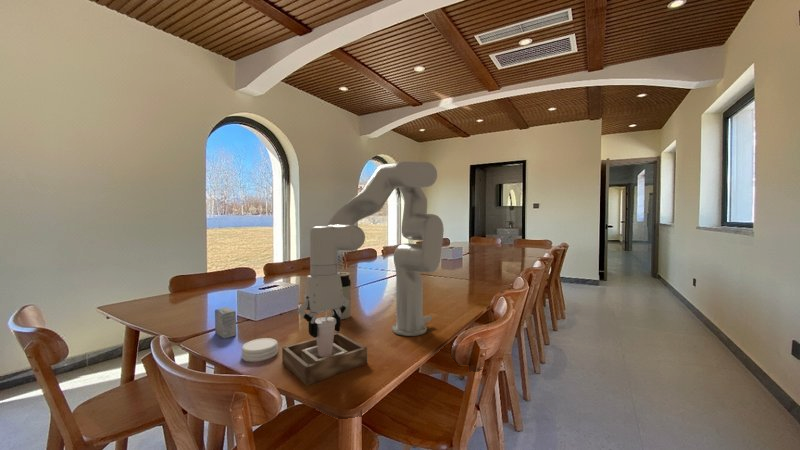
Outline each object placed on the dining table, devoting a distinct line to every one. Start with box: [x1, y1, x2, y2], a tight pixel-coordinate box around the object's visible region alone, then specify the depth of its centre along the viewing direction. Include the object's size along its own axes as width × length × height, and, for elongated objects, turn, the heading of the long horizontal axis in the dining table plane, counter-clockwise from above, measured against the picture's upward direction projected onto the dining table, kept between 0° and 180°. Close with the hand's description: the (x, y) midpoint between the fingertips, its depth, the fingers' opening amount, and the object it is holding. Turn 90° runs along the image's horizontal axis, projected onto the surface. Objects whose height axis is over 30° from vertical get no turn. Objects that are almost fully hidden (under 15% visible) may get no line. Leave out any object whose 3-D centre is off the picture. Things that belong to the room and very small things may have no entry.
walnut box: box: [281, 331, 368, 386], centre depth 92 cm, size 18×16×4 cm
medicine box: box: [214, 306, 237, 339], centre depth 114 cm, size 8×4×9 cm, turn 47°
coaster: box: [241, 337, 279, 363], centre depth 97 cm, size 10×10×4 cm
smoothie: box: [315, 311, 337, 357], centre depth 91 cm, size 6×6×14 cm
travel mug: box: [330, 271, 352, 321], centre depth 133 cm, size 8×8×18 cm
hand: (324, 332), depth 91 cm, fingers closed on smoothie, 6 cm apart
